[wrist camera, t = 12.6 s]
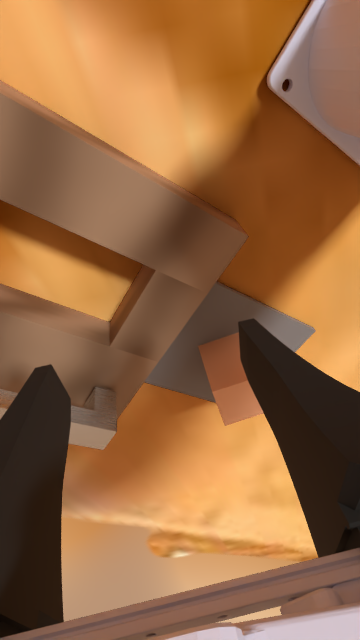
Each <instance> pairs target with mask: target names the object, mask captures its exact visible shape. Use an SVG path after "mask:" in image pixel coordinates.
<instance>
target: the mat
mask: <svg viewBox="0 0 360 640" xmlns="http://www.w3.org/2000/svg"><path fill="white" fill-rule="evenodd" d="M253 318H254V319H255V320H257V321H258V322H259V323H260V324H261V325H262V326H263V327H265V328H266V329H267V330H268V331H269V332H270V333H271V334H272V335H274V336H275V337H276V338H277V339H278V340H280V341H281V342H282V343H283V344H285V345H286V346H287V347H288V348H290V349H291V350H292V351H293V352H296V351H297V350H298V349H299V348H300V347H301V345H302V344H303V343H304V342H305V341H306V340H307V339H308V338H309V337H310V336H311V335H312V334H313V333H314V332H315V331H316V330H315V329H314V328H313V327H311V326H309V325H307V324H305V323H303V322H301V321H298V320H296V319H294V318H292V317H290V316H288V315H286V314H284V313H282V312H280V311H278V310H275V309H273V308H271V307H269V306H267V305H265V304H263V303H261V302H259V301H257V300H255V299H252V298H250V297H248V296H246V295H244V294H242V293H240V292H238V291H236V290H234V289H232V288H229V287H227V286H225V285H223V284H221V283H219V282H217V281H216V283H215V284H214V286H213V287H212V288H211V290H210V291H209V293H208V294H207V295H206V297H205V298H204V299H203V301H202V302H201V304H200V305H199V306H198V308H197V309H196V311H195V312H194V313H193V315H192V316H191V317H190V319H189V320H188V322H187V323H186V324H185V326H184V327H183V329H182V330H181V331H180V333H179V334H178V336H177V337H176V338H175V340H174V341H173V342H172V344H171V345H170V347H169V348H168V349H167V351H166V352H165V354H164V355H163V356H162V358H161V359H160V360H159V362H158V363H157V365H156V366H155V367H154V369H153V370H152V372H151V373H150V374H149V376H148V377H147V379H146V380H145V381H144V382H145V383H149V384H152V385H156V386H159V387H163V388H166V389H170V390H173V391H177V392H180V393H184V394H187V395H191V396H194V397H198V398H201V399H205V400H208V401H212V402H215V403H216V401H215V398H214V396H213V393H212V390H211V387H210V383H209V380H208V377H207V374H206V370H205V367H204V364H203V361H202V358H201V354H200V351H199V348H198V346H200V345H203V344H205V343H208V342H211V341H214V340H217V339H220V338H223V337H226V336H229V335H232V334H235V333H238V332H239V329H238V322H239V321H244V320H248V319H253Z"/></svg>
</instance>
